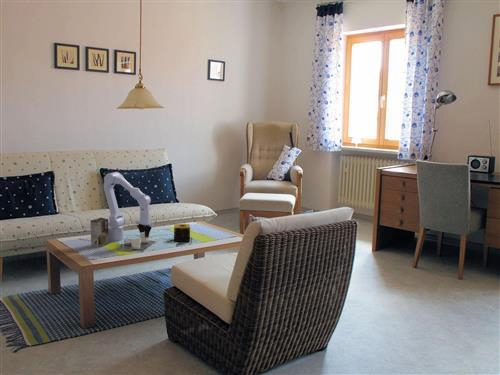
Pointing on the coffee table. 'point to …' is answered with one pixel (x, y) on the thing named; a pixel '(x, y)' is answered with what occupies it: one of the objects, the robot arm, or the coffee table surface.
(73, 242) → the coffee table surface
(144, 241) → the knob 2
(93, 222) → the coffee box
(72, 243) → the coffee table surface
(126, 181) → the robot arm
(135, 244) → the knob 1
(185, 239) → the candle
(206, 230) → the coffee table surface
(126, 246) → the levelling base
